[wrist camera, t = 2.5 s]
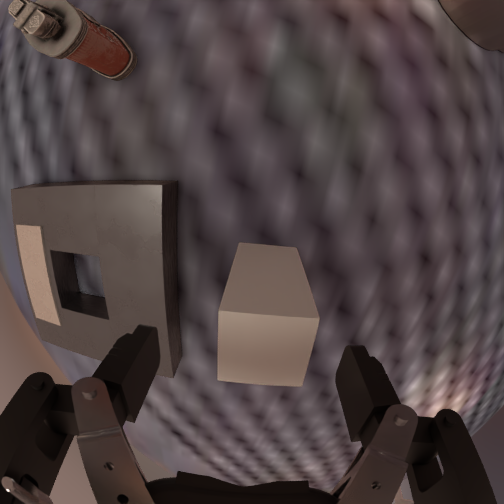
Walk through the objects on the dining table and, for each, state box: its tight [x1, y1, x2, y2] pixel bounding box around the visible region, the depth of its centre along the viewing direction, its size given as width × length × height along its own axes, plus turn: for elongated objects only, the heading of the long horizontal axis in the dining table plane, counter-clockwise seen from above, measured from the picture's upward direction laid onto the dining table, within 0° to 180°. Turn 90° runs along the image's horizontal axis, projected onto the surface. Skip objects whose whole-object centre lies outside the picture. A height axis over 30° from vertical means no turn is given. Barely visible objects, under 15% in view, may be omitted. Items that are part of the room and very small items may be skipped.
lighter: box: [8, 0, 137, 81], centre depth 9 cm, size 8×3×10 cm, turn 44°
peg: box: [218, 242, 320, 386], centre depth 15 cm, size 4×4×9 cm
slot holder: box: [11, 180, 182, 378], centre depth 19 cm, size 15×15×3 cm
